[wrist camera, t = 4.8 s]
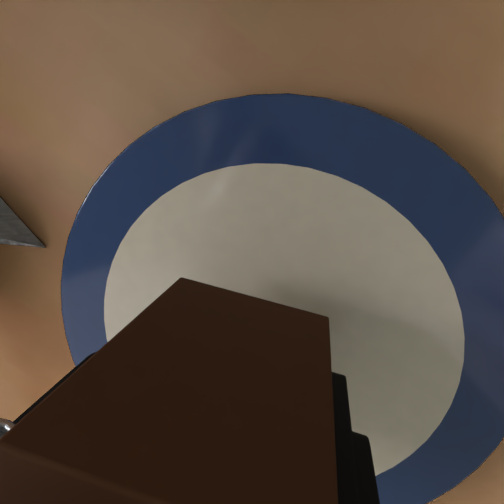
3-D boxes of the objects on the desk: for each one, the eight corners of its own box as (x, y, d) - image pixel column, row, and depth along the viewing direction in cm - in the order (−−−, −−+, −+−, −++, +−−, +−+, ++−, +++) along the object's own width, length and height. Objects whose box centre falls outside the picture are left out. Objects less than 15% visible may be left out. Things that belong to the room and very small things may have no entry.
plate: (71, 430, 17) (55, 446, 16) (86, 57, 12) (64, 48, 11) (416, 558, 15) (423, 587, 14) (629, 159, 9) (664, 159, 8)
